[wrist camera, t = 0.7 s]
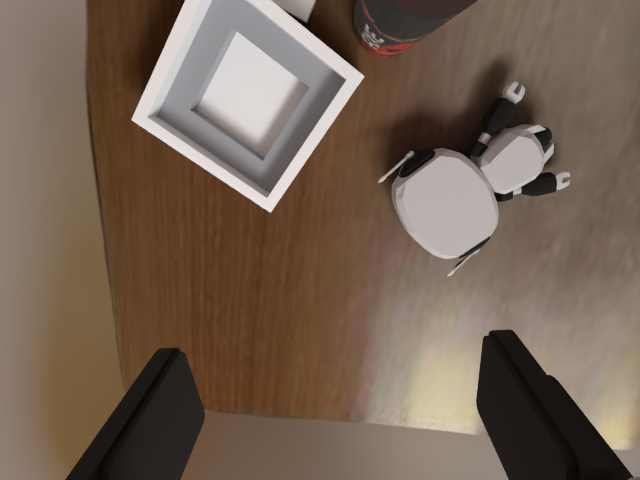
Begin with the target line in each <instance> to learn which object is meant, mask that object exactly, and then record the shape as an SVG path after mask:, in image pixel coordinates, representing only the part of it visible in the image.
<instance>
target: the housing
mask: <svg viewBox="0 0 640 480" xmlns="http://www.w3.org/2000/svg"><path fill="white" fill-rule="evenodd" d="M363 78H364V76H363V75H362V74H361V73H360V72H358V71H357V70H356V69H355V68H354V67H352V66H351V65H350V64H349V63H347V62H346V61H345V60H344V59H343V58H341V57H340V56H339V55H338V54H336V53H335V52H334V51H333V50H332V49H330V48H329V47H328V46H327V45H325V44H324V43H323V42H322V41H321V40H319V39H318V38H317V37H316V36H314V35H313V34H312V33H311V32H310V31H308V30H307V29H306V28H305V27H303V26H302V25H301V24H300V23H298V22H297V21H296V20H295V19H294V18H292V17H291V16H290V15H289V14H287V13H286V12H285V11H284V10H283V9H281V8H280V7H279V6H278V5H276V4H275V3H274V2H273V1H272V0H185V2H184V4H183V6H182V9H181V11H180V13H179V15H178V17H177V20H176V22H175V24H174V26H173V29H172V31H171V33H170V35H169V37H168V40H167V42H166V44H165V46H164V49H163V51H162V53H161V55H160V57H159V60H158V62H157V64H156V66H155V69H154V71H153V73H152V75H151V77H150V80H149V82H148V84H147V86H146V89H145V91H144V93H143V95H142V97H141V100H140V102H139V104H138V106H137V108H136V111H135V113H134V115H133V117H132V121H134V122H135V123H137V124H138V125H140V126H141V127H143V128H144V129H146V130H147V131H149V132H150V133H152V134H153V135H155V136H156V137H158V138H159V139H161V140H162V141H164V142H165V143H167V144H168V145H170V146H171V147H173V148H174V149H176V150H177V151H179V152H180V153H182V154H183V155H185V156H186V157H188V158H189V159H191V160H192V161H194V162H195V163H197V164H198V165H200V166H201V167H203V168H204V169H206V170H207V171H209V172H210V173H212V174H213V175H215V176H216V177H218V178H219V179H221V180H222V181H224V182H225V183H227V184H228V185H230V186H231V187H233V188H234V189H236V190H237V191H239V192H240V193H242V194H243V195H245V196H246V197H248V198H249V199H251V200H252V201H254V202H255V203H257V204H258V205H260V206H261V207H263V208H264V209H266V210H267V211H269V212H270V213H271V211H272V210H273V208H274V207H275V206H276V204H277V203H278V201H279V200H280V198H281V197H282V195H283V194H284V192H285V191H286V190H287V188H288V187H289V185H290V184H291V182H292V181H293V179H294V178H295V176H296V175H297V174H298V172H299V171H300V169H301V168H302V166H303V165H304V163H305V162H306V160H307V159H308V158H309V156H310V155H311V153H312V152H313V150H314V149H315V147H316V146H317V144H318V143H319V142H320V140H321V139H322V137H323V136H324V134H325V133H326V131H327V130H328V128H329V127H330V126H331V124H332V123H333V121H334V120H335V118H336V117H337V115H338V114H339V112H340V111H341V110H342V108H343V107H344V105H345V104H346V102H347V101H348V99H349V98H350V97H351V95H352V94H353V92H354V91H355V89H356V88H357V86H358V85H359V83H360V82H361V81H362V79H363Z"/></svg>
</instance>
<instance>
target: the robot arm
mask: <svg viewBox="0 0 640 480" xmlns="http://www.w3.org/2000/svg"><path fill="white" fill-rule="evenodd" d="M476 403H477V409H478V412H479V415H480V417H481V419H482V421H483V423H484V426H485V428H486V430H487V432H488V435H489V437H490V439H491V441H492V443H493V446H494V448H495V450H496V452H497V454H498V456H499V459H500V461H501V463H502V465H503V468H504V470H505V472H506V474H507V476H508V479H509V480H640V477H633V476H632V475H631V473H630V472H629V471H628V470H627V468H626V467H625V466H624V465H623V463H622V462H621V461H620V459H619V458H618V457H617V456H616V454H615V453H614V452H613V450H612V449H611V448H610V447H609V445H608V444H607V443H606V441H605V440H604V439H603V438H602V436H601V435H600V434H599V433H598V431H597V430H596V429H595V427H594V426H593V425H592V424H591V422H590V421H589V420H588V418H587V417H586V416H585V415H584V413H583V412H582V411H581V410H580V408H579V407H578V406H577V404H576V403H575V402H574V401H573V399H572V398H571V397H570V396H569V394H568V393H567V392H566V390H565V389H564V388H563V387H562V385H561V384H560V383H559V382H558V381H557V380H556V379H555V378H554V377H553V376H551V375H547V374H546V373H545V372H544V370H543V369H542V368H541V366H540V365H539V364H538V363H537V361H536V360H535V359H534V357H533V356H532V355H531V353H530V352H529V351H528V349H527V348H526V347H525V345H524V344H523V343H522V341H521V340H520V339H519V338H518V336H517V335H516V334H515V332H514V331H513V330H493V331H490V332H489V336H484V338H483V344H482V353H481V363H480V372H479V381H478V390H477V399H476ZM204 417H205V413H204V408H203V405H202V402H201V399H200V396H199V393H198V390H197V387H196V384H195V381H194V378H193V375H192V372H191V369H190V367H189V364H188V361H187V358H186V355H185V353H184V352H181V351H180V349H179V348H161V349H158V350H157V351H156V352H155V354H154V355H153V356H152V358H151V359H150V361H149V362H148V364H147V365H146V366H145V368H144V369H143V371H142V372H141V373H140V375H139V376H138V378H137V379H136V380H135V382H134V383H133V385H132V386H131V388H130V389H129V390H128V392H127V393H126V395H125V396H124V397H123V399H122V400H121V402H120V403H119V405H118V406H117V407H116V409H115V410H114V412H113V413H112V414H111V416H110V417H109V419H108V420H107V422H106V423H105V424H104V426H103V427H102V429H101V430H100V431H99V433H98V434H97V436H96V437H95V438H94V440H93V441H92V443H91V444H90V446H89V447H88V449H87V450H86V451H85V453H84V454H83V456H82V457H81V458H80V460H79V461H78V463H77V464H76V465H75V467H74V468H73V470H72V471H71V472H70V474H69V475H68V477H67V478H66V479H65V480H180V479H181V477H182V474H183V472H184V469H185V467H186V464H187V462H188V459H189V457H190V454H191V452H192V449H193V447H194V444H195V442H196V440H197V437H198V434H199V432H200V430H201V427H202V425H203V422H204Z"/></svg>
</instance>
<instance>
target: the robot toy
mask: <svg viewBox="0 0 640 480" xmlns="http://www.w3.org/2000/svg"><path fill="white" fill-rule="evenodd" d="M518 84H519V83H518V82H515V81H513V82H509V84H508V85H507V86H506V87H505V88H504V89H503V93H502V98H497V99H495V100H494V102H493V103H492V105H491V107H490V108H489V110H488V112H487V113H486V115H485V116H484V118H483V133H482V135H481V136H480V138H479V139H478V141H472V142H471V144H470V146H469V147H468V149H467V150H466V152H467V153H468V154H470V160H469V159H468V158H467V157H466V156H464V155H462V154H461V153H459V152H455V151H452V150H449V149H444V148H439V149H435V150H433V149H430V148H424V149H421V150H418V151H415V152H413V151H410V152H408V153H407V154H406V155H405V158H404V159H402V160H401V161H400V162H399V163H398V164H397V165H396V166H394V167H393V168H392V169H391V170H390V171H389V172H388V173H386V174H385V175H384V176H382V177H381V178H380V179H379V181H378V183H379V182H383V181H384V180H385V179H386V177H387V176H389V175H390V174H391V173H392V172H393V171H394V170H395V169H396V168H398V167H399V168H398V169H397V175H398V176H397V177H396V179H395V181H394V182H393V184H392V195H391V196H392V201H393V204H394V207H395V210H396V212H397V214H398V216H399V218H400V220H401V222H402V224H403V226H404V228H405V229H406V231H407V232H408V233H409V234H410V235H411V236H412V237H413V238H414V239H415V240H416V241H417V242H418V243H419V244H420V245H421V246H422V247H423V248H425V249H426V250H427V251H429V252H430V253H432V254H433V255H435V256H437V257H441V258H445V259H450V258H455V257H459V258H462V257H465V256H466V257H465V258H464V259H462V260H461V261H460V262H459V263H458V264H457V265H456V266H455V267H454V268H453V269H450V270H449V271H448V272H447V276H450V275H452V274H453V273H454V271H455V270H456V269H458V268H459V267H460V266H461V265H462V264H463V263H464V262H465V261H466V260H467V259H469V258H470V257H471V256H472V255H473V254H476V253H477V252H479V251H480V248H481V247H482V246H483V245H484V244H485V243H486V242H487V241H488V240H489V239H490V235H492V233H493V231H494V230H495V228H496V226H497V223H498V216H499V213H498V206H497V202H496V200H497V201H498V202H502V201H506V200H510V199H512V198H513V195H515V194H519V193H521V194H524V195H529V196H539V195H543V194H548V193H552V192H556V189H558V190H559V189H562V188H564V187H566V186H568V185H569V183H570V180H568V179H565V180H562V178H565V177H570V173H569V172H568V171H567V170H558V171H556V172H555V173H553V174H552V173H551V172H547V173H541V174H540V172H541V171H542V169H543V166H544V164H545V163H546V161H547V160H548V159H549V158H550V157H551V155H552V154H553V149H554V143H549V142H550V140H551V139H552V133H551V131H550V129H548V128H546V127H541V126H540V125H525V124H522V125H519V126H516V127H513V128H505V127H506V126H507V125H508V123H509V122H510V120H511V119H512V117H513V116H514V114H515V113H516V111H517V110H518V108H519V107H518V106H517V105H515V104H516V103H517V102H519V101H520V100H521V99H522V97H523V95H524V93H525V88H524V86H522V85H519V86H518V87H517V85H518ZM516 87H517V89H516V91H515V92H514V90H515V88H516ZM513 92H514V93H513ZM493 191H494V193H493Z"/></svg>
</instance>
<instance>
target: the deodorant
mask: <svg viewBox="0 0 640 480" xmlns="http://www.w3.org/2000/svg"><path fill="white" fill-rule="evenodd" d="M476 1H477V0H356V3H355V8H354V13H353V28H354V32H355V36H356V38H357V40H358V42H359V44H360V45H361V46H362V47H363V48H364V49H365V51H367V52H368V53H370V54H372V55H373V56H376V57H381V58H389V57H394V56H397V55H399V54H401V53H403V52H404V51H405V50H407V49H408V48H410V47H411V46H413V45H414V44H416V43H417V42H418V41H420V40H421V39H423V38H424V37H426V36H427V35H429V34H430V33H431V32H433V31H434V30H436V29H437V28H439V27H440V26H442V25H443V24H444V23H446V22H447V21H449V20H450V19H452V18H453V17H455V16H456V15H457V14H459V13H460V12H462V11H463V10H465V9H466V8H468V7H469V6H470V5H472V4H473V3H475V2H476Z"/></svg>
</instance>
